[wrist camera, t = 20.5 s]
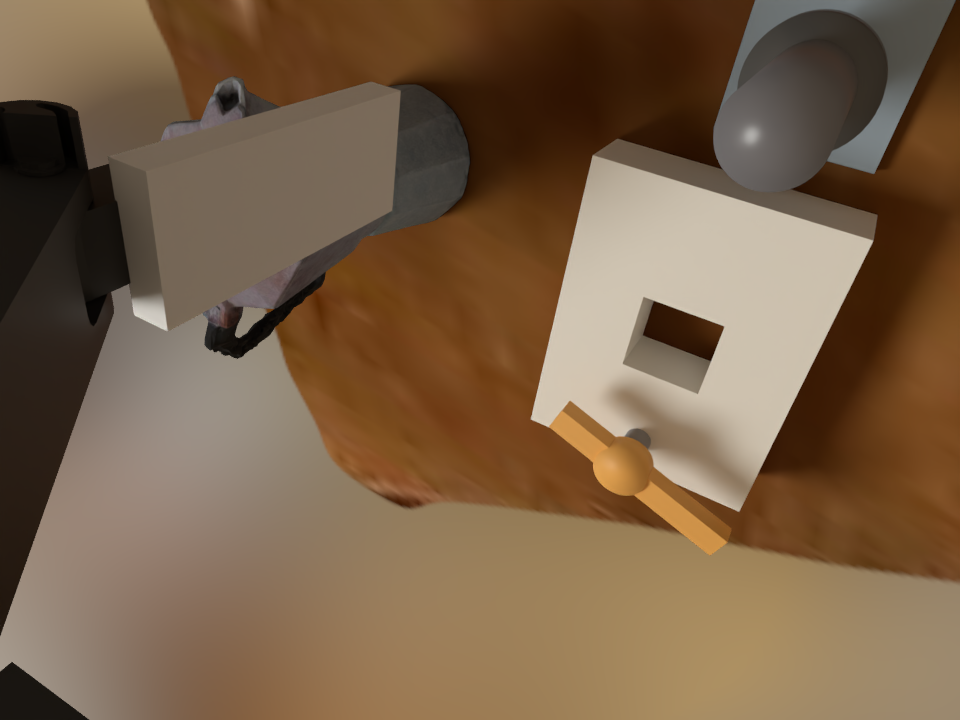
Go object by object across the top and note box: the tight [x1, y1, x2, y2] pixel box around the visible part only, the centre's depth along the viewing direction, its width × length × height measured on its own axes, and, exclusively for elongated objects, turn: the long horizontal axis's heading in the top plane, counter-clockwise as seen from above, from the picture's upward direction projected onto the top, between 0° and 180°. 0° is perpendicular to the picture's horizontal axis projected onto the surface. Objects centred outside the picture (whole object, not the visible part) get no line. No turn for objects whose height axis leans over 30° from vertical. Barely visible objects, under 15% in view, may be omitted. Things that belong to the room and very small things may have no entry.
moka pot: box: [160, 76, 470, 359], centre depth 40 cm, size 10×15×20 cm, turn 170°
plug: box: [713, 9, 888, 193], centre depth 28 cm, size 6×6×15 cm
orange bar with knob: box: [549, 401, 732, 555], centre depth 42 cm, size 12×3×1 cm, turn 61°
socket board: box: [531, 139, 878, 512], centre depth 41 cm, size 18×14×6 cm
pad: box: [713, 0, 956, 174], centre depth 34 cm, size 8×8×1 cm
